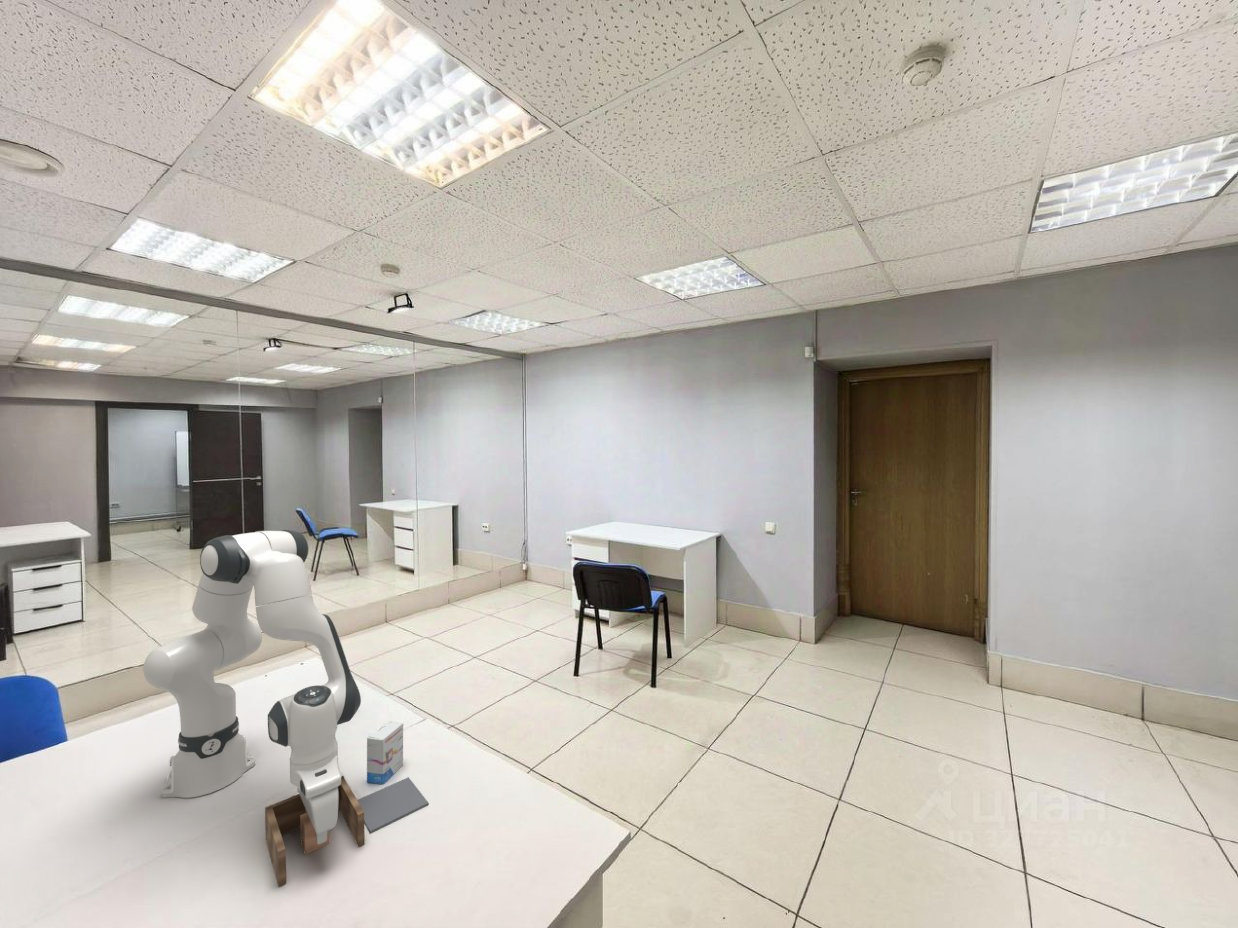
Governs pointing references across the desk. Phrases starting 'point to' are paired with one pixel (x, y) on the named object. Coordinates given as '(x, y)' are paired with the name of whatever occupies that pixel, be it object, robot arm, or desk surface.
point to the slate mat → (391, 804)
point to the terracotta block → (309, 835)
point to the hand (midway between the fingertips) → (316, 828)
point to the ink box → (384, 752)
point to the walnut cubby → (287, 819)
